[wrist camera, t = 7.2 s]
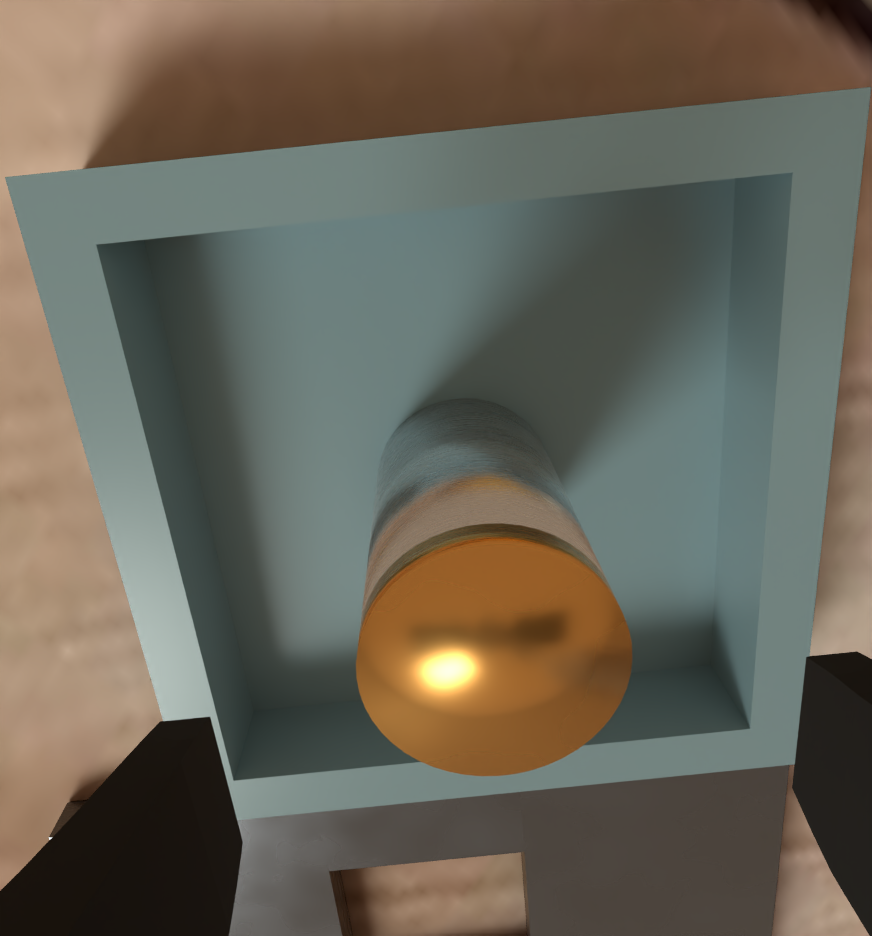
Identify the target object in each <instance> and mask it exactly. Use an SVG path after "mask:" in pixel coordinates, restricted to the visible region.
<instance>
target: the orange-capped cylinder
mask: <svg viewBox="0 0 872 936" xmlns="http://www.w3.org/2000/svg"><path fill="white" fill-rule="evenodd" d="M631 668H632V642H631V637H630V632H629V628H628V626H627V623H626V620H625V617H624V615H623V613H622V611H621V608H620V606H619V604H618V602H617V600H616V598H615V596H614V594H613V592H612V589H611V587H610V585H609V583H608V581H607V579H606V577H605V575H604V573H603V570H602V568H601V566H600V564H599V562H598V560H597V558H596V556H595V554H594V552H593V549H592V547H591V545H590V543H589V541H588V539H587V537H586V535H585V533H584V530H583V528H582V526H581V524H580V522H579V520H578V518H577V516H576V514H575V511H574V509H573V507H572V505H571V503H570V501H569V499H568V497H567V495H566V492H565V490H564V488H563V486H562V484H561V482H560V480H559V478H558V476H557V473H556V471H555V469H554V467H553V465H552V463H551V461H550V459H549V457H548V454H547V452H546V450H545V448H544V446H543V444H542V442H541V440H540V439H539V437H538V435H537V434H536V433H535V431H534V430H533V429H532V427H531V426H530V425H529V424H528V423H527V422H526V421H525V420H524V419H523V418H521V417H520V416H519V415H517V414H516V413H515V412H513V411H511V410H509V409H508V408H506V407H504V406H501V405H499V404H496V403H493V402H490V401H486V400H480V399H472V398H459V399H451V400H446V401H442V402H438V403H435V404H432V405H430V406H428V407H425V408H423V409H422V410H420V411H418V412H416V413H415V414H413V415H412V416H411V417H409V418H408V419H407V420H405V421H404V422H403V423H402V424H401V425H400V426H399V427H398V428H397V430H396V431H395V432H394V433H393V435H392V436H391V437H390V439H389V441H388V442H387V444H386V446H385V448H384V450H383V453H382V455H381V459H380V462H379V466H378V475H377V484H376V492H375V501H374V510H373V519H372V527H371V536H370V545H369V554H368V562H367V571H366V580H365V589H364V598H363V606H362V615H361V624H360V633H359V641H358V650H357V659H356V676H357V683H358V688H359V693H360V696H361V698H362V701H363V704H364V706H365V709H366V710H367V712H368V714H369V716H370V718H371V719H372V721H373V722H374V724H375V725H376V726H377V727H378V729H379V730H380V731H381V733H382V734H383V735H384V736H385V737H386V738H387V739H388V740H389V741H390V742H392V743H393V744H394V745H395V746H397V747H398V748H399V749H401V750H402V751H403V752H404V753H406V754H408V755H410V756H411V757H413V758H415V759H416V760H418V761H420V762H423V763H425V764H427V765H430V766H432V767H435V768H438V769H441V770H445V771H448V772H453V773H458V774H463V775H472V776H503V775H511V774H518V773H522V772H526V771H531V770H534V769H537V768H540V767H543V766H546V765H549V764H551V763H553V762H556V761H558V760H560V759H562V758H564V757H566V756H567V755H569V754H571V753H572V752H574V751H576V750H578V749H579V748H580V747H582V746H583V745H584V744H585V743H587V742H588V741H589V740H591V739H592V738H593V737H594V736H595V735H596V734H597V733H598V732H599V731H600V730H601V729H602V728H603V727H604V726H605V725H606V723H607V722H608V721H609V720H610V718H611V717H612V716H613V714H614V713H615V711H616V709H617V708H618V706H619V704H620V703H621V701H622V698H623V696H624V694H625V691H626V689H627V686H628V682H629V679H630V675H631Z"/></svg>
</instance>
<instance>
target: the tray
mask: <svg viewBox="0 0 872 936" xmlns="http://www.w3.org/2000/svg"><path fill="white" fill-rule="evenodd" d="M870 94H871V87H867V88H857V89H847V90H838V91H828V92H819V93H809V94H799V95H790V96H780V97H771V98H761V99H752V100H742V101H732V102H723V103H713V104H704V105H694V106H684V107H675V108H665V109H656V110H646V111H636V112H627V113H617V114H608V115H598V116H588V117H579V118H569V119H560V120H550V121H540V122H531V123H521V124H512V125H502V126H492V127H483V128H473V129H464V130H454V131H444V132H435V133H425V134H416V135H406V136H396V137H387V138H377V139H368V140H358V141H348V142H339V143H329V144H320V145H310V146H300V147H291V148H281V149H272V150H262V151H253V152H243V153H233V154H224V155H214V156H205V157H195V158H185V159H176V160H166V161H157V162H147V163H137V164H128V165H118V166H109V167H99V168H89V169H80V170H70V171H61V172H51V173H41V174H32V175H22V176H13V177H5V179H6V182H7V186H8V189H9V193H10V196H11V200H12V203H13V206H14V210H15V213H16V217H17V220H18V224H19V227H20V230H21V234H22V237H23V241H24V244H25V248H26V251H27V254H28V258H29V261H30V265H31V268H32V272H33V275H34V279H35V282H36V285H37V289H38V292H39V296H40V299H41V303H42V306H43V309H44V313H45V316H46V320H47V323H48V327H49V330H50V333H51V337H52V340H53V344H54V347H55V351H56V354H57V358H58V361H59V364H60V368H61V371H62V375H63V378H64V382H65V385H66V388H67V392H68V395H69V399H70V402H71V406H72V409H73V413H74V416H75V419H76V423H77V426H78V430H79V433H80V437H81V440H82V443H83V447H84V450H85V454H86V457H87V461H88V464H89V467H90V471H91V474H92V478H93V481H94V485H95V488H96V492H97V495H98V498H99V502H100V505H101V509H102V512H103V516H104V519H105V522H106V526H107V529H108V533H109V536H110V540H111V543H112V546H113V550H114V553H115V557H116V560H117V564H118V567H119V571H120V574H121V577H122V581H123V584H124V588H125V591H126V595H127V598H128V601H129V605H130V608H131V612H132V615H133V619H134V622H135V625H136V629H137V632H138V636H139V639H140V643H141V646H142V650H143V653H144V656H145V660H146V663H147V667H148V670H149V674H150V677H151V680H152V684H153V687H154V691H155V694H156V698H157V701H158V705H159V708H160V711H161V715H162V718H163V721H171V720H181V719H191V718H201V717H210V718H211V722H212V725H213V729H214V733H215V737H216V741H217V745H218V748H219V752H220V756H221V760H222V764H223V768H224V771H225V775H226V779H227V783H228V787H229V791H230V794H231V798H232V802H233V806H234V810H235V814H236V818H237V820H244V819H254V818H264V817H274V816H284V815H294V814H304V813H314V812H324V811H334V810H344V809H354V808H364V807H374V806H384V805H393V804H403V803H413V802H423V801H433V800H443V799H453V798H463V797H473V796H483V795H493V794H503V793H513V792H523V791H533V790H543V789H553V788H563V787H573V786H583V785H593V784H603V783H613V782H623V781H633V780H643V779H653V778H663V777H673V776H683V775H693V774H703V773H713V772H723V771H733V770H743V769H753V768H763V767H773V766H783V765H793V764H795V757H796V748H797V739H798V729H799V720H800V710H801V701H802V692H803V682H804V673H805V664H806V657H809V655H810V646H811V637H812V627H813V618H814V609H815V600H816V591H817V581H818V572H819V563H820V554H821V545H822V536H823V526H824V517H825V508H826V499H827V490H828V480H829V471H830V462H831V453H832V444H833V434H834V425H835V416H836V407H837V398H838V388H839V379H840V370H841V361H842V352H843V342H844V333H845V324H846V315H847V306H848V296H849V287H850V278H851V269H852V260H853V250H854V241H855V232H856V223H857V214H858V204H859V195H860V186H861V177H862V168H863V159H864V149H865V140H866V131H867V122H868V113H869V103H870ZM459 398H472V399H480V400H486V401H490V402H493V403H496V404H499V405H501V406H504V407H506V408H508V409H509V410H511V411H513V412H515V413H516V414H517V415H519V416H520V417H521V418H523V419H524V420H525V421H526V422H527V423H528V424H529V425H530V426H531V427H532V429H533V430H534V431H535V433H536V434H537V435H538V437H539V439H540V440H541V442H542V444H543V446H544V448H545V450H546V452H547V454H548V457H549V459H550V461H551V463H552V465H553V467H554V469H555V471H556V473H557V476H558V478H559V480H560V482H561V484H562V486H563V488H564V490H565V492H566V495H567V497H568V499H569V501H570V503H571V505H572V507H573V509H574V511H575V514H576V516H577V518H578V520H579V522H580V524H581V526H582V528H583V530H584V533H585V535H586V537H587V539H588V541H589V543H590V545H591V547H592V549H593V552H594V554H595V556H596V558H597V560H598V562H599V564H600V566H601V568H602V570H603V573H604V575H605V577H606V579H607V581H608V583H609V585H610V587H611V589H612V592H613V594H614V596H615V598H616V600H617V602H618V604H619V606H620V608H621V611H622V613H623V615H624V617H625V620H626V623H627V626H628V628H629V632H630V637H631V642H632V668H631V675H630V679H629V682H628V686H627V689H626V691H625V694H624V696H623V698H622V701H621V703H620V704H619V706H618V708H617V709H616V711H615V713H614V714H613V716H612V717H611V718H610V720H609V721H608V722H607V723H606V725H605V726H604V727H603V728H602V729H601V730H600V731H599V732H598V733H597V734H596V735H595V736H594V737H593V738H592V739H591V740H589V741H588V742H587V743H585V744H584V745H583V746H582V747H580V748H579V749H578V750H576V751H574V752H572V753H571V754H569V755H567V756H566V757H564V758H562V759H560V760H558V761H556V762H553V763H551V764H549V765H546V766H543V767H540V768H537V769H534V770H531V771H526V772H522V773H518V774H511V775H503V776H472V775H463V774H458V773H453V772H448V771H445V770H441V769H438V768H435V767H432V766H430V765H427V764H425V763H423V762H420V761H418V760H416V759H415V758H413V757H411V756H410V755H408V754H406V753H404V752H403V751H402V750H401V749H399V748H398V747H397V746H395V745H394V744H393V743H392V742H390V741H389V740H388V739H387V738H386V737H385V736H384V735H383V734H382V733H381V731H380V730H379V729H378V727H377V726H376V725H375V724H374V722H373V721H372V719H371V718H370V716H369V714H368V712H367V710H366V709H365V706H364V704H363V701H362V698H361V696H360V693H359V688H358V683H357V676H356V659H357V650H358V641H359V633H360V624H361V615H362V606H363V598H364V589H365V580H366V571H367V562H368V554H369V545H370V536H371V527H372V519H373V510H374V501H375V492H376V484H377V475H378V466H379V462H380V459H381V455H382V453H383V450H384V448H385V446H386V444H387V442H388V441H389V439H390V437H391V436H392V435H393V433H394V432H395V431H396V430H397V428H398V427H399V426H400V425H401V424H402V423H403V422H404V421H405V420H407V419H408V418H409V417H411V416H412V415H413V414H415V413H416V412H418V411H420V410H422V409H423V408H425V407H428V406H430V405H432V404H435V403H438V402H442V401H446V400H451V399H459Z"/></svg>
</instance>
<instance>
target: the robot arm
mask: <svg viewBox="0 0 872 936" xmlns="http://www.w3.org/2000/svg"><path fill="white" fill-rule="evenodd" d="M792 788H793V791H794V793H795V795H796V797H797V799H798V802H799V804H800V806H801V808H802V811H803V813H804V815H805V817H806V819H807V822H808V824H809V826H810V828H811V831H812V833H813V835H814V837H815V839H816V841H817V843H818V845H819V847H820V849H821V851H822V854H823V856H824V858H825V860H826V862H827V864H828V866H829V868H830V870H831V872H832V874H833V876H834V877H835V879H836V881H837V882H838V884H839V886H840V887H841V889H842V891H843V892H844V894H845V896H846V897H847V899H848V901H849V902H850V904H851V906H852V907H853V909H854V911H855V912H856V914H857V915H858V917H859V919H860V920H861V922H862V924H863V925H864V927H865V929H866V930H867V932H868V934H869V935H870V936H872V659H870V658H868V657H866V656H864V655H863V654H861V653H859V652H849V653H839V654H829V655H819V656H809V657H806V664H805V673H804V682H803V692H802V701H801V710H800V720H799V729H798V739H797V748H796V757H795V767H794V776H793V785H792ZM242 846H243V841H242V837H241V833H240V829H239V825H238V821H237V818H236V814H235V810H234V806H233V802H232V798H231V794H230V791H229V787H228V783H227V779H226V775H225V771H224V768H223V764H222V760H221V756H220V752H219V748H218V745H217V741H216V737H215V733H214V729H213V725H212V722H211V718H210V717H201V718H191V719H181V720H171V721H161V722H159V723H158V724H157V726H156V727H155V728H154V729H153V730H152V731H151V732H150V733H149V734H148V735H147V736H146V737H145V738H144V739H143V740H142V741H141V742H140V743H139V744H138V745H137V747H136V748H135V749H134V750H133V751H132V752H131V753H130V754H129V755H128V756H127V757H126V758H125V760H124V761H123V762H122V763H121V764H120V765H119V766H118V767H117V768H116V769H115V771H114V772H113V773H112V774H111V775H110V776H109V777H108V778H107V779H106V780H105V781H104V783H103V784H102V785H101V786H100V787H99V788H98V789H97V790H96V791H95V792H94V793H93V795H92V796H91V797H90V798H89V799H88V800H87V801H86V802H85V803H84V804H83V805H82V806H81V808H80V809H79V810H78V811H77V812H76V813H75V814H74V815H73V816H72V817H71V818H70V819H69V820H68V821H67V822H66V823H65V825H64V826H63V827H62V828H61V829H60V830H59V831H58V832H57V833H56V834H55V835H54V836H53V837H52V838H51V839H50V840H49V841H48V843H47V844H46V845H45V846H44V847H43V848H42V849H41V850H40V851H39V852H38V853H37V854H36V855H35V856H34V857H33V858H32V860H31V861H30V862H29V863H28V864H27V865H26V866H25V867H24V868H23V869H22V870H21V871H20V872H19V873H18V874H17V875H16V876H15V877H14V878H13V879H12V880H11V881H10V882H9V883H8V884H7V885H6V886H5V887H4V888H3V889H2V890H1V891H0V936H229V932H230V926H231V920H232V914H233V908H234V902H235V895H236V889H237V882H238V875H239V867H240V860H241V853H242Z"/></svg>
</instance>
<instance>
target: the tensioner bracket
mask: <svg viewBox="0 0 872 936" xmlns="http://www.w3.org/2000/svg"><path fill="white" fill-rule="evenodd" d="M788 771H789V765H783V766H773V767H763V768H753V769H743V770H733V771H723V772H713V773H703V774H693V775H683V776H673V777H663V778H653V779H643V780H633V781H623V782H613V783H603V784H593V785H583V786H573V787H563V788H553V789H543V790H533V791H523V792H513V793H503V794H493V795H483V796H473V797H463V798H453V799H443V800H433V801H423V802H413V803H403V804H393V805H384V806H374V807H364V808H354V809H344V810H334V811H324V812H314V813H304V814H294V815H284V816H274V817H264V818H254V819H244V820H237V821H238V825H239V829H240V833H241V837H242V841H243V846H242V853H241V860H240V867H239V875H238V882H237V889H236V895H235V902H234V908H233V914H232V920H231V926H230V932H229V936H353V934H352V929H351V924H350V919H349V914H348V909H347V904H346V899H345V894H344V889H343V884H342V879H341V874H340V870H347V869H357V868H367V867H377V866H387V865H397V864H407V863H417V862H427V861H437V860H447V859H457V858H467V857H477V856H487V855H497V854H507V853H517V852H521V857H522V871H523V884H524V898H525V912H526V925H527V936H772V926H773V916H774V907H775V897H776V887H777V878H778V868H779V858H780V849H781V839H782V829H783V820H784V810H785V800H786V791H787V781H788ZM85 802H86V801H79V802H69V803H67V805H66V807H65V808H64V810H63V812H62V814H61V816H60V818H59V820H58V821H57V823H56V825H55V827H54V829H53V831H52V833H51V834H50V836H49V840H50V839H51V838H52V837H53V836H54V835H55V834H56V833H57V832H58V831H59V830H60V829H61V828H62V827H63V826H64V825H65V823H66V822H67V821H68V820H69V819H70V818H71V817H72V816H73V815H74V814H75V813H76V812H77V811H78V810H79V809H80V808H81V806H82V805H83V804H84V803H85Z"/></svg>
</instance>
